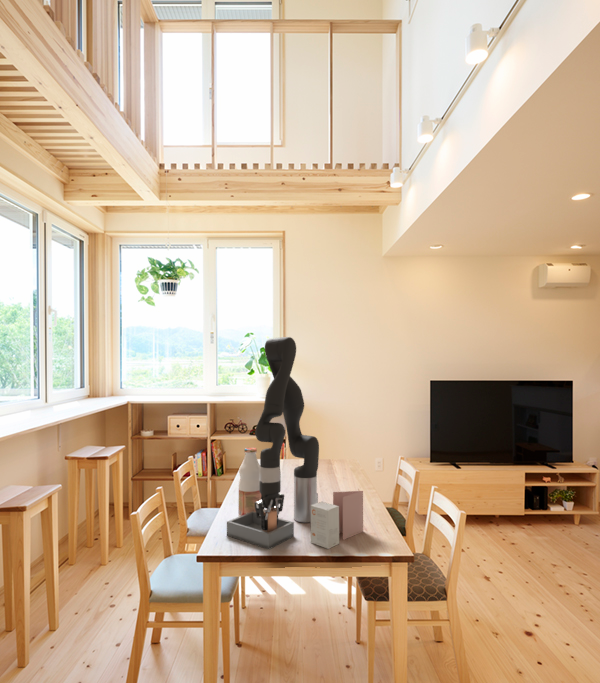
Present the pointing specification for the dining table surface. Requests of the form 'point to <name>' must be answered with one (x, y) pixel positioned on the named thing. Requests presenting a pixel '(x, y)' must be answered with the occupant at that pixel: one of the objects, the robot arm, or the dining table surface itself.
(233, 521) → the tote
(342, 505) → the greeting card
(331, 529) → the small box
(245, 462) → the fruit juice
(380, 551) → the dining table surface
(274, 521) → the peach rounded piece
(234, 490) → the dining table surface
